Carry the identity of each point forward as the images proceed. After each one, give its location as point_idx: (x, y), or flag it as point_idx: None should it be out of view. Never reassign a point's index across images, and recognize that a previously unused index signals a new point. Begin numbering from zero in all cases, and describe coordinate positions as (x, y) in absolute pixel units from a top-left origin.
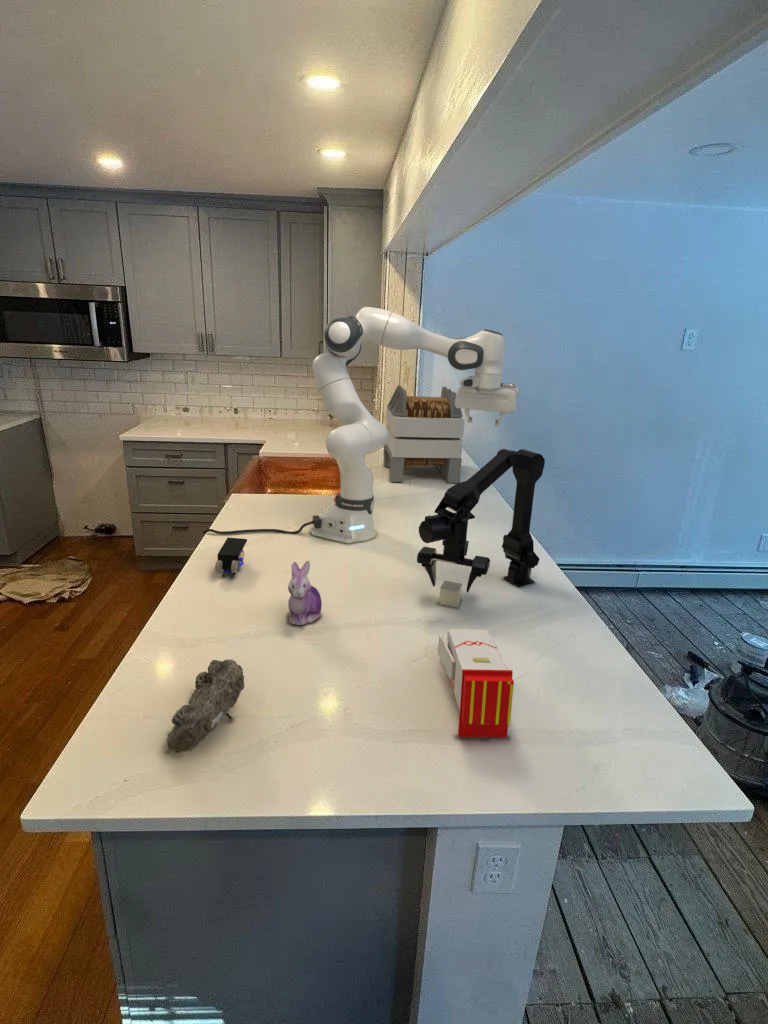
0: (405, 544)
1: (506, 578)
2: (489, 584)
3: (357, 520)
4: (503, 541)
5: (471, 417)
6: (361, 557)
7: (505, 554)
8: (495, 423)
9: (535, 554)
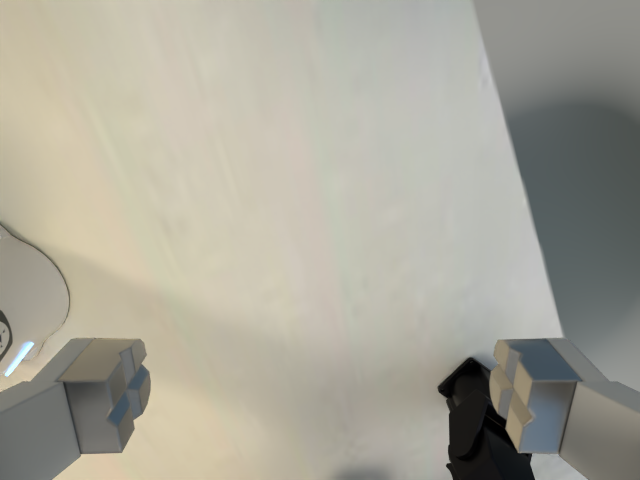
0: (166, 301)
1: (444, 394)
2: (409, 419)
3: (4, 368)
4: (453, 477)
5: (107, 425)
6: None
7: (450, 426)
8: (503, 416)
9: (530, 456)
